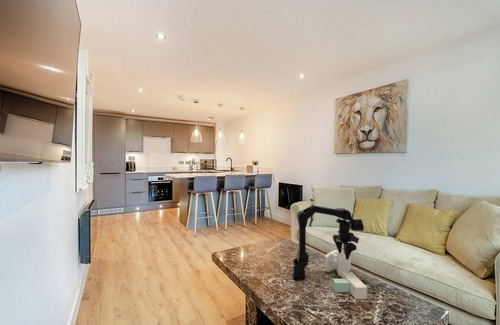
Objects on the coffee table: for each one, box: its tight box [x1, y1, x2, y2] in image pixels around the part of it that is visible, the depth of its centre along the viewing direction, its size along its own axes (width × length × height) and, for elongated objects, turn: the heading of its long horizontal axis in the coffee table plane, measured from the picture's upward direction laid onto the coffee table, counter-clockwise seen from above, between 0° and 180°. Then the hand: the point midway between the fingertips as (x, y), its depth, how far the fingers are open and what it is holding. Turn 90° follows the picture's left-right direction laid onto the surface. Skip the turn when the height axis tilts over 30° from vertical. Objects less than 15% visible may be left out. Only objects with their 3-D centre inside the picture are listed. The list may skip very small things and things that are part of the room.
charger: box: [331, 278, 350, 293], centre depth 125 cm, size 10×4×5 cm, turn 92°
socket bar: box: [341, 271, 368, 300], centre depth 125 cm, size 6×16×6 cm, turn 2°
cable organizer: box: [324, 249, 352, 278], centre depth 146 cm, size 15×11×12 cm
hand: (343, 256), depth 137 cm, fingers open, 9 cm apart
